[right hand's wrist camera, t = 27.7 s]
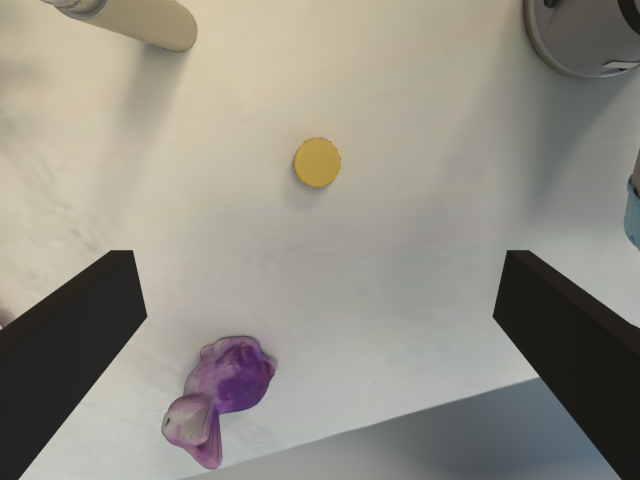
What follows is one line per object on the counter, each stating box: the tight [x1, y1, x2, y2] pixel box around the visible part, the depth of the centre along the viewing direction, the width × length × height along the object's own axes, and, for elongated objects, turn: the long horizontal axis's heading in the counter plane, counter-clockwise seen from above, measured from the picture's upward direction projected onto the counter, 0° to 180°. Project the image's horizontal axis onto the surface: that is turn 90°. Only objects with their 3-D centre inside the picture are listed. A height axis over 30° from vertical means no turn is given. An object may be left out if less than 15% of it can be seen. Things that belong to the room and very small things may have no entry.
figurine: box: [161, 337, 278, 470], centre depth 41 cm, size 9×10×15 cm
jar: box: [41, 0, 197, 52], centre depth 26 cm, size 4×4×17 cm
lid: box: [294, 137, 341, 187], centre depth 37 cm, size 5×5×2 cm
